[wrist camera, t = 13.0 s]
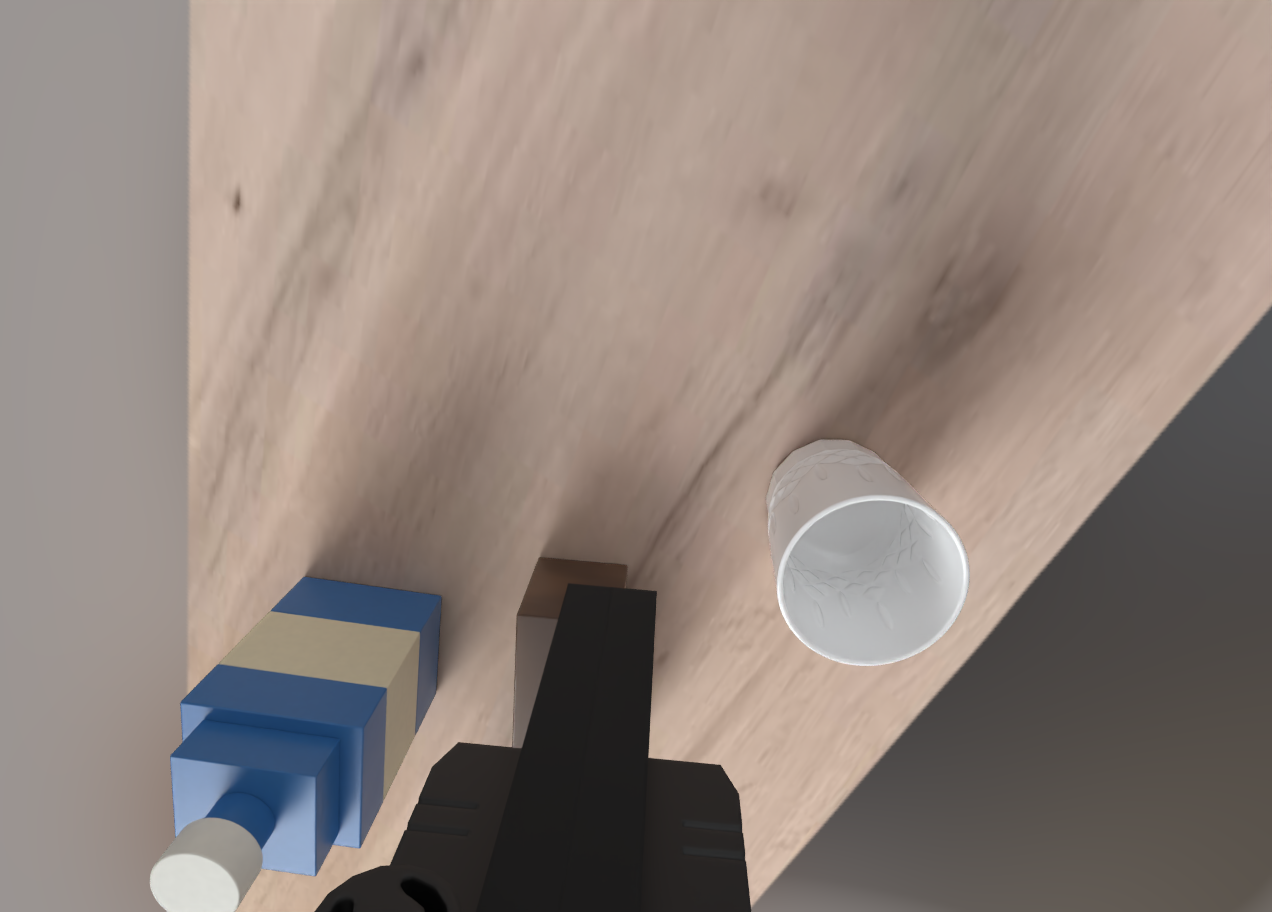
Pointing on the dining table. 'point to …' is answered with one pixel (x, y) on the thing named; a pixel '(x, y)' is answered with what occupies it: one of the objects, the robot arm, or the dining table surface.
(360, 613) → the bottle
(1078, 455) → the dining table surface
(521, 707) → the block
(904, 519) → the white cup
